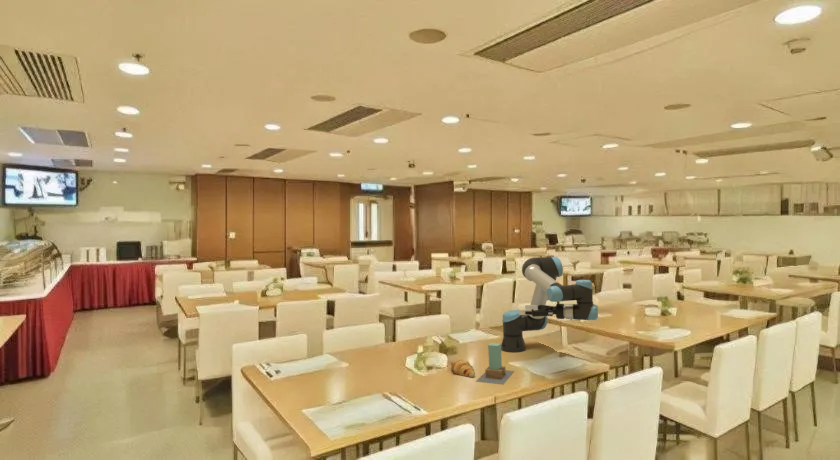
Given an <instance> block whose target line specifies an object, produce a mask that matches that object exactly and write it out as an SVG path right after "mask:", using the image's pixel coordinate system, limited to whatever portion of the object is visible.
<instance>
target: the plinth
mask: <svg viewBox="0 0 840 460" xmlns="http://www.w3.org/2000/svg"><path fill="white" fill-rule="evenodd" d="M505 370H506V366H502V368H501V369H500V370H493V369H489V366H488V367H487V368H485V372H484V373H486V378H493V379H502V378H503V377H504V376H505V375H506V371H505Z"/></svg>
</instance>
